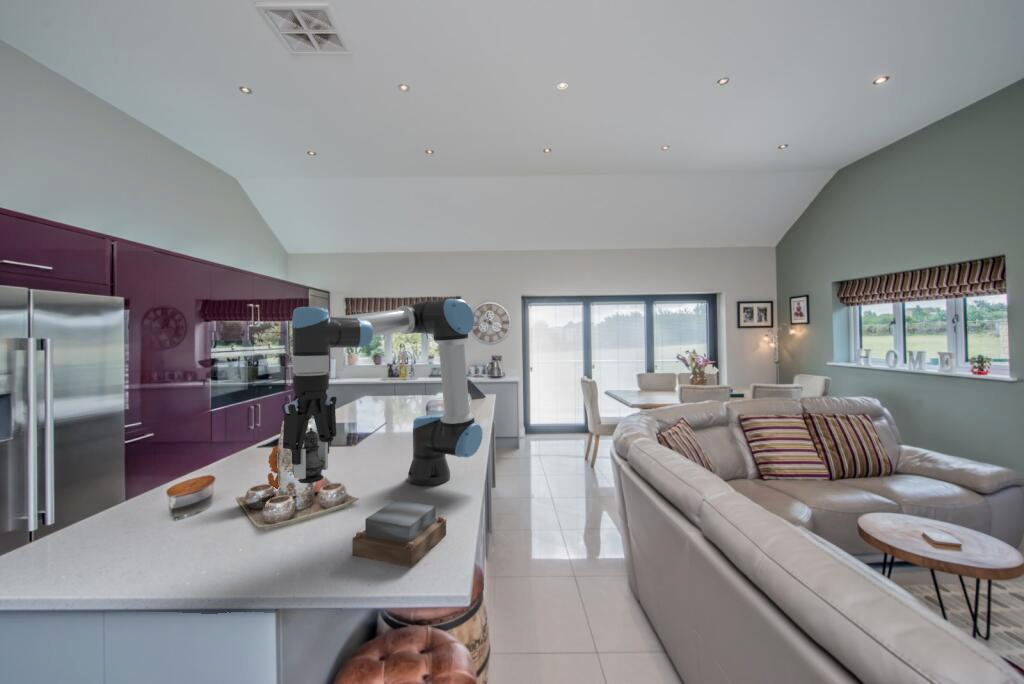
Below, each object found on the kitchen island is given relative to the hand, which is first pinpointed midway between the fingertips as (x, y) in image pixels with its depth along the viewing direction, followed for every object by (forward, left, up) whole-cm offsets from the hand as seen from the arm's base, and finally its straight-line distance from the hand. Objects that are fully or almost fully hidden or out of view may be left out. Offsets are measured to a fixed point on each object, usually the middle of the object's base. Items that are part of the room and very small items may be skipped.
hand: (311, 473), depth 93 cm
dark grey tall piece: (0, 0, -2) cm, 2 cm away
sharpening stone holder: (-11, +17, -19) cm, 28 cm away
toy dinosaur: (-25, -36, -20) cm, 48 cm away
